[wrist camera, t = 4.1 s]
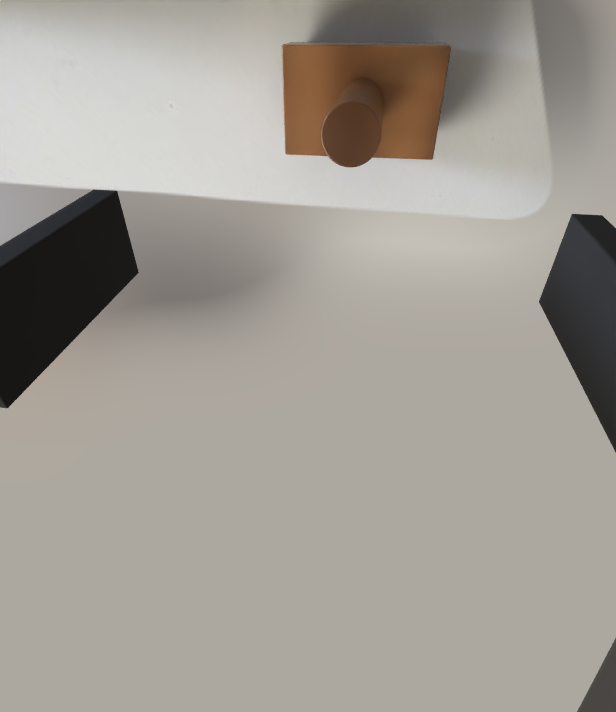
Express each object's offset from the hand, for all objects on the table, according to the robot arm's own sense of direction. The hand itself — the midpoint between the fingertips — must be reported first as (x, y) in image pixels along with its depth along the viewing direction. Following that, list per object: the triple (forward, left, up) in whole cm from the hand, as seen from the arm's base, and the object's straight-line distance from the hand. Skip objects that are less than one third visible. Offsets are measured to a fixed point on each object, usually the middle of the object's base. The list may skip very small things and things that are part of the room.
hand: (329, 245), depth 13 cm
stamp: (0, -1, -20) cm, 20 cm away
